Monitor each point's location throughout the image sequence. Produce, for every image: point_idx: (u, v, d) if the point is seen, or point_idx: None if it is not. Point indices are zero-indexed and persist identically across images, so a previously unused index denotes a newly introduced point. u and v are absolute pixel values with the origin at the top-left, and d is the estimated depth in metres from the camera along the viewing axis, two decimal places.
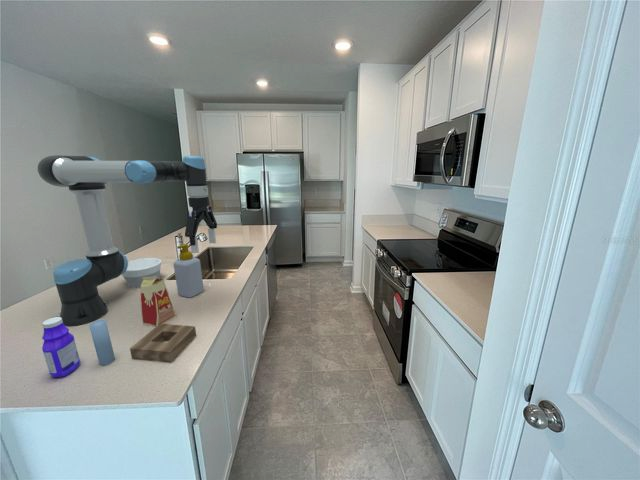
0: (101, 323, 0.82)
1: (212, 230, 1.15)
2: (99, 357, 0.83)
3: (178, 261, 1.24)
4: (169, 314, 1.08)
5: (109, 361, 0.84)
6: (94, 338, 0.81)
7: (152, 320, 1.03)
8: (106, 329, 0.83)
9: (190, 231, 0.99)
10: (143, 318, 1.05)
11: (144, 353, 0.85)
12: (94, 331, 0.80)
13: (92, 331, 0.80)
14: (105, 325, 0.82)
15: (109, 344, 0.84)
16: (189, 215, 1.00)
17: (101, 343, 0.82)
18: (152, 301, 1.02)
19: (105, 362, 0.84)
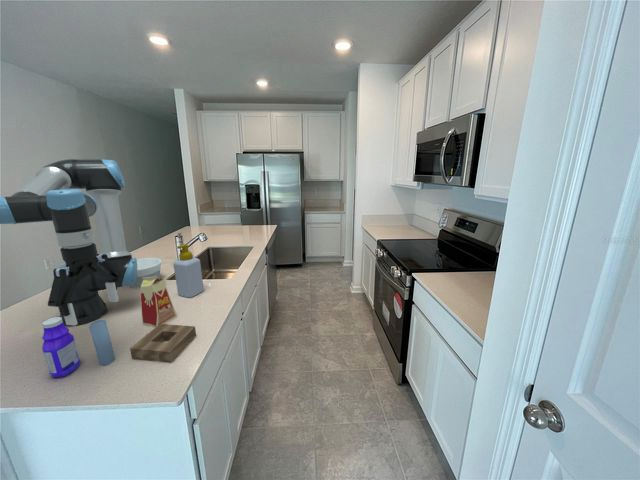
0: (101, 323, 0.82)
1: (111, 285, 0.85)
2: (99, 357, 0.83)
3: (178, 261, 1.24)
4: (169, 314, 1.08)
5: (109, 361, 0.84)
6: (94, 338, 0.81)
7: (152, 320, 1.03)
8: (106, 329, 0.83)
9: (55, 299, 0.69)
10: (143, 318, 1.05)
11: (144, 353, 0.85)
12: (94, 331, 0.80)
13: (92, 331, 0.80)
14: (105, 325, 0.82)
15: (109, 344, 0.84)
16: (56, 275, 0.70)
17: (101, 343, 0.82)
18: (152, 301, 1.02)
19: (105, 362, 0.84)
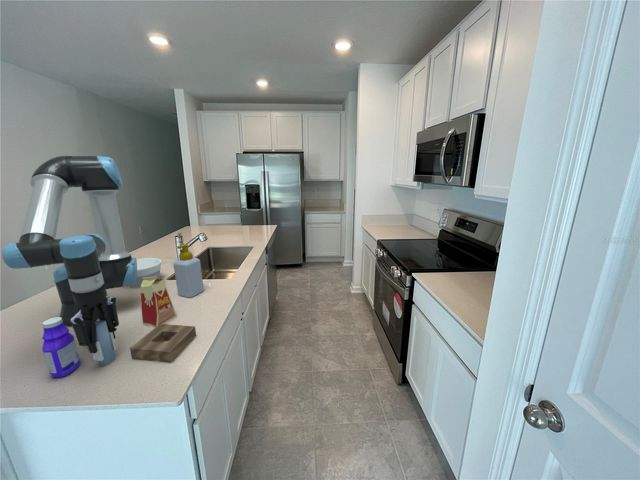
0: (101, 322, 0.82)
1: (109, 335, 0.85)
2: None
3: (178, 261, 1.24)
4: (169, 314, 1.08)
5: (109, 361, 0.84)
6: None
7: (152, 320, 1.03)
8: (106, 329, 0.83)
9: (84, 341, 0.77)
10: (143, 318, 1.05)
11: (144, 353, 0.85)
12: None
13: None
14: (105, 325, 0.82)
15: (109, 344, 0.84)
16: (73, 323, 0.75)
17: (101, 343, 0.82)
18: (152, 301, 1.02)
19: (105, 362, 0.84)
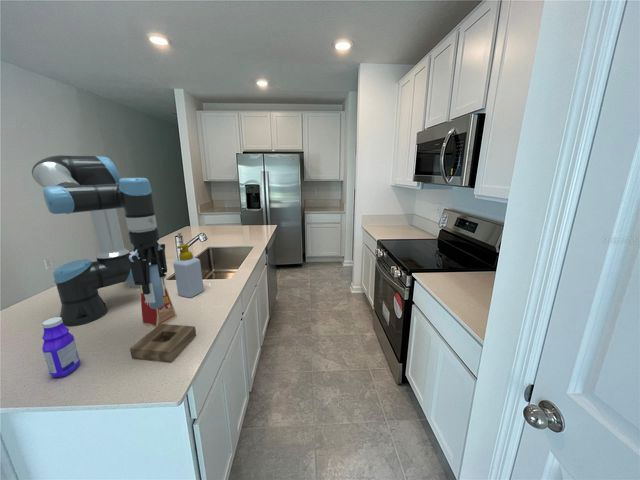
0: (153, 265, 0.84)
1: None
2: None
3: (178, 261, 1.24)
4: (169, 314, 1.08)
5: (160, 305, 0.86)
6: None
7: (152, 320, 1.03)
8: (158, 272, 0.85)
9: (139, 280, 0.79)
10: (143, 318, 1.05)
11: (144, 353, 0.85)
12: None
13: None
14: (157, 268, 0.85)
15: (160, 288, 0.86)
16: (131, 261, 0.77)
17: (153, 285, 0.84)
18: None
19: (156, 305, 0.86)
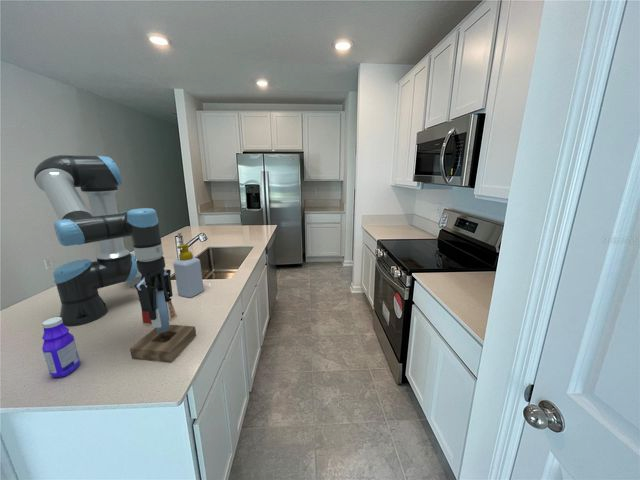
0: (160, 292, 0.87)
1: None
2: None
3: (178, 261, 1.24)
4: None
5: (166, 329, 0.89)
6: None
7: None
8: (164, 298, 0.88)
9: (147, 307, 0.82)
10: (143, 318, 1.05)
11: (144, 353, 0.85)
12: None
13: None
14: (163, 294, 0.87)
15: (166, 312, 0.89)
16: (138, 289, 0.80)
17: (159, 311, 0.87)
18: None
19: (162, 329, 0.89)
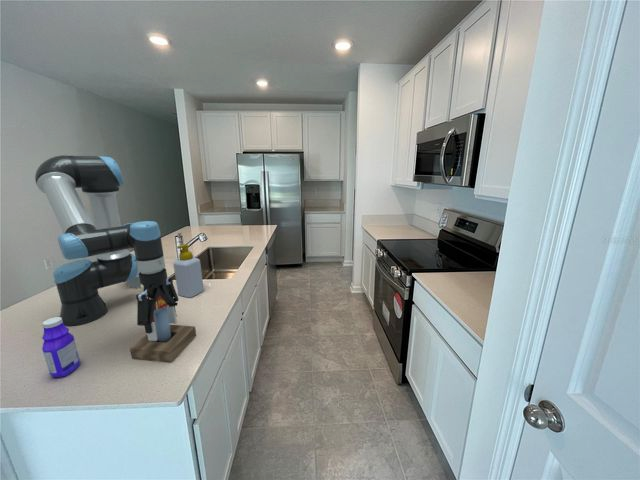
0: (163, 310, 0.89)
1: (171, 309, 0.93)
2: None
3: (178, 261, 1.24)
4: None
5: None
6: (157, 324, 0.88)
7: (152, 320, 1.03)
8: (167, 316, 0.90)
9: (143, 320, 0.81)
10: None
11: (144, 353, 0.85)
12: (158, 317, 0.87)
13: (156, 318, 0.87)
14: (166, 313, 0.89)
15: (169, 330, 0.91)
16: (139, 300, 0.80)
17: (163, 329, 0.89)
18: None
19: None
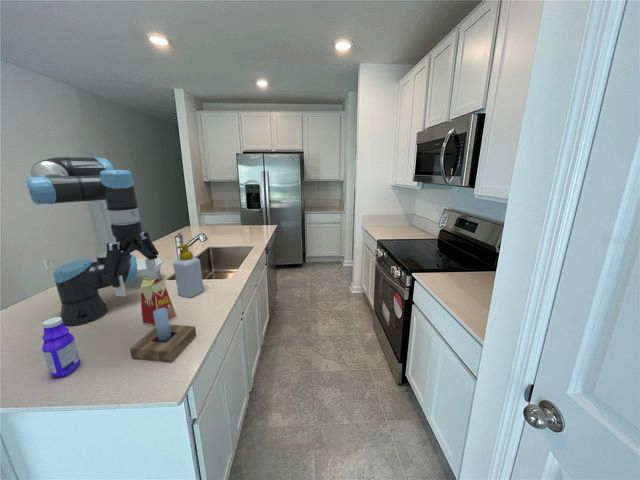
0: (163, 310, 0.89)
1: (150, 261, 0.91)
2: None
3: (178, 261, 1.24)
4: (169, 314, 1.08)
5: None
6: (157, 324, 0.88)
7: (152, 320, 1.03)
8: (167, 316, 0.90)
9: (110, 271, 0.75)
10: (143, 318, 1.05)
11: (144, 353, 0.85)
12: (158, 317, 0.87)
13: (156, 318, 0.87)
14: (166, 313, 0.89)
15: (169, 330, 0.91)
16: (109, 249, 0.76)
17: (163, 329, 0.89)
18: (152, 301, 1.02)
19: None
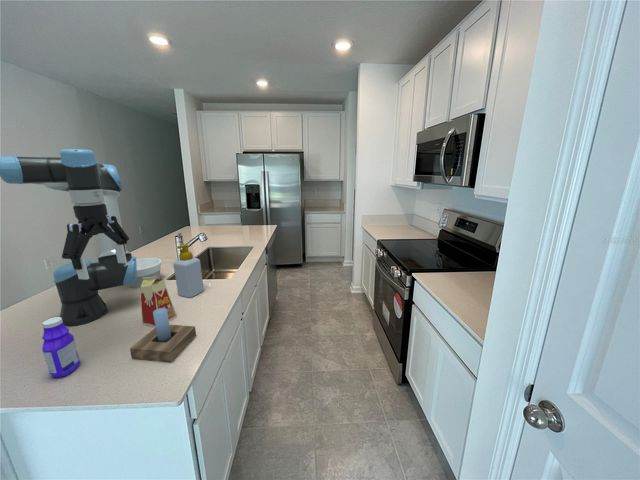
0: (163, 310, 0.89)
1: (120, 246, 0.89)
2: None
3: (178, 261, 1.24)
4: (169, 314, 1.08)
5: None
6: (157, 324, 0.88)
7: (152, 320, 1.03)
8: (167, 316, 0.90)
9: (69, 251, 0.73)
10: (143, 318, 1.05)
11: (144, 353, 0.85)
12: (158, 317, 0.87)
13: (156, 318, 0.87)
14: (166, 313, 0.89)
15: (169, 330, 0.91)
16: (70, 229, 0.74)
17: (163, 329, 0.89)
18: (152, 301, 1.02)
19: None
